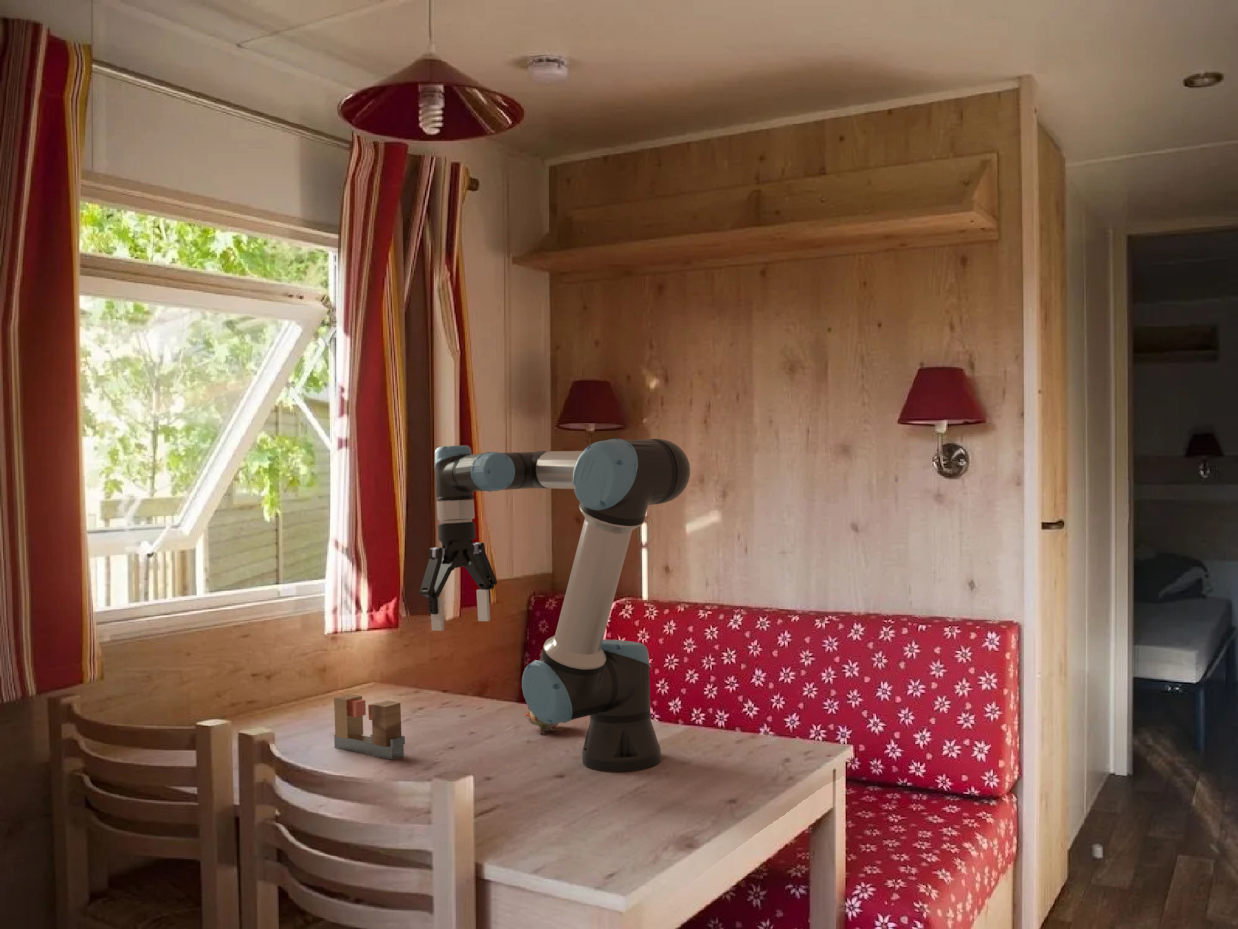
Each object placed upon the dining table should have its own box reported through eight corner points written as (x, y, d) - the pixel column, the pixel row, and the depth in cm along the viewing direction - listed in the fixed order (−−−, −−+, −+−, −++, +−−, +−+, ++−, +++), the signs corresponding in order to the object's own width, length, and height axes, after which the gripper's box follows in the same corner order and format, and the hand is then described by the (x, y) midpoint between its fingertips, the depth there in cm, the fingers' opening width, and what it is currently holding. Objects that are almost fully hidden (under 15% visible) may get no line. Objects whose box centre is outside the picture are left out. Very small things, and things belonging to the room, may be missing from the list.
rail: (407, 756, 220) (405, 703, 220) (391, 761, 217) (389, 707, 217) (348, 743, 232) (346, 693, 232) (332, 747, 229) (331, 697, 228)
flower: (562, 730, 230) (569, 694, 235) (519, 722, 230) (527, 687, 235) (561, 746, 238) (567, 711, 243) (519, 738, 238) (526, 704, 243)
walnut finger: (401, 742, 221) (400, 702, 221) (386, 747, 218) (384, 706, 218) (381, 738, 225) (380, 699, 225) (366, 743, 222) (365, 703, 222)
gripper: (483, 518, 238) (488, 616, 238) (398, 525, 218) (403, 633, 217) (510, 517, 234) (515, 617, 233) (425, 525, 213) (431, 635, 213)
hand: (461, 625), depth 225 cm, fingers open, 13 cm apart
